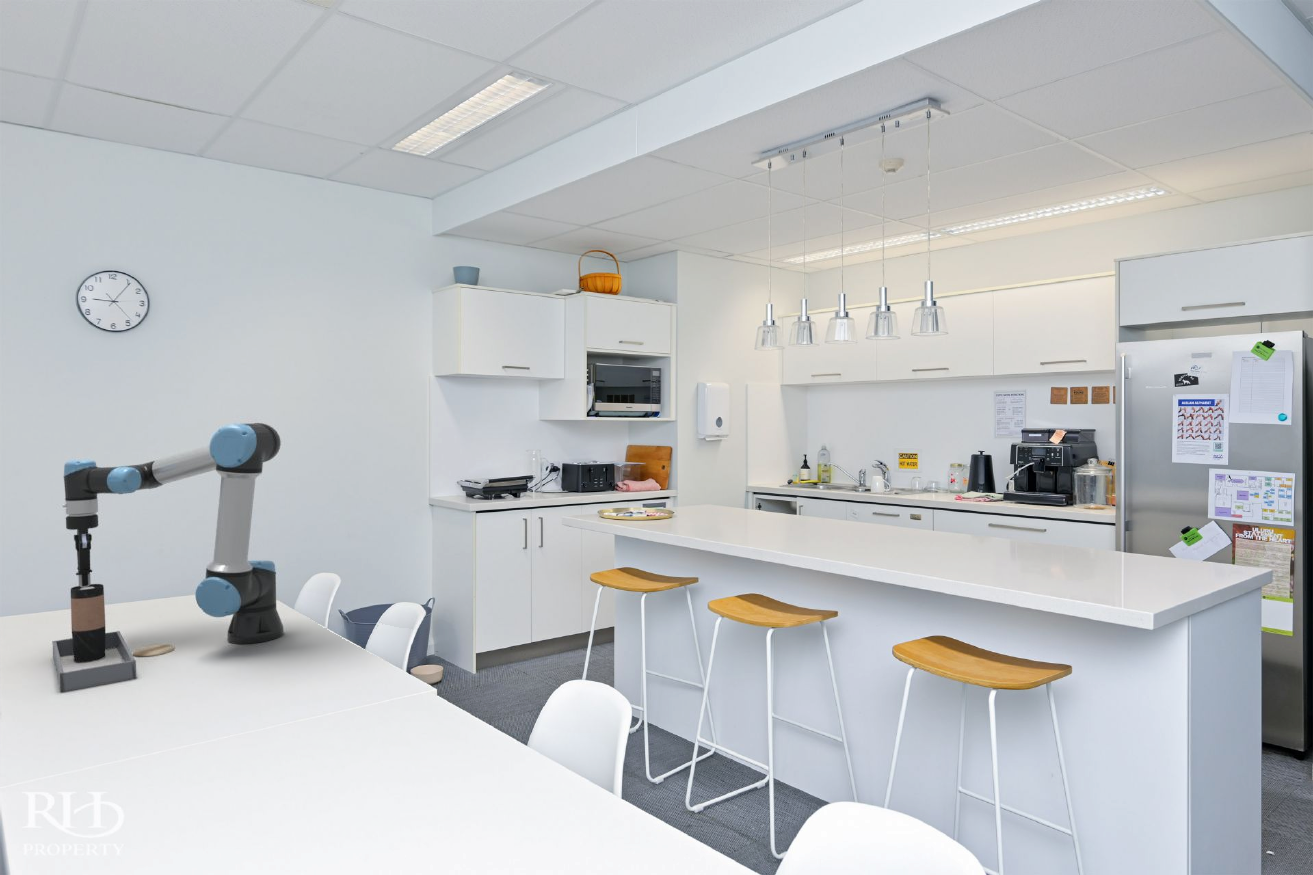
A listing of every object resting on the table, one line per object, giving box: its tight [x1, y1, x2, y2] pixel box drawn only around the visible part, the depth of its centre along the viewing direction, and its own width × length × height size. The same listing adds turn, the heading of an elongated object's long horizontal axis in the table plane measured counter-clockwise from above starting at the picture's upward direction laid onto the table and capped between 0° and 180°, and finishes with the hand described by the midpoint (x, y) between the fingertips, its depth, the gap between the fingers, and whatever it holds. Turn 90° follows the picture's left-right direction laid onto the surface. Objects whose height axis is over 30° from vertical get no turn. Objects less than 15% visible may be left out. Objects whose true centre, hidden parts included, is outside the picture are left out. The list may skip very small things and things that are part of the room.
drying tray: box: [51, 630, 137, 693], centre depth 216 cm, size 37×16×4 cm, turn 39°
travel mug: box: [70, 583, 106, 663], centre depth 223 cm, size 8×8×20 cm
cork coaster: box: [132, 644, 175, 658], centre depth 229 cm, size 10×10×1 cm
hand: (85, 596), depth 231 cm, fingers closed
